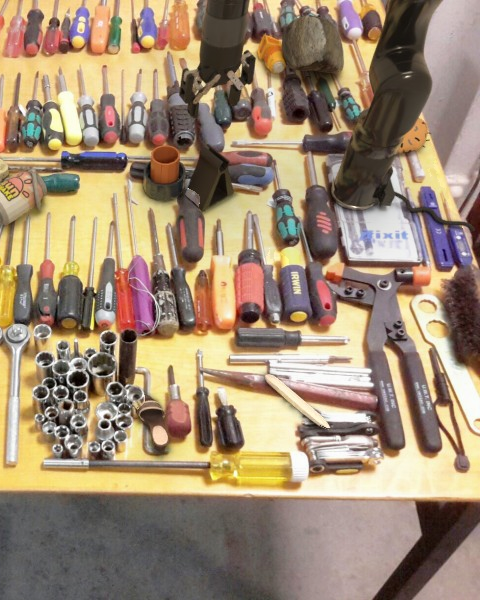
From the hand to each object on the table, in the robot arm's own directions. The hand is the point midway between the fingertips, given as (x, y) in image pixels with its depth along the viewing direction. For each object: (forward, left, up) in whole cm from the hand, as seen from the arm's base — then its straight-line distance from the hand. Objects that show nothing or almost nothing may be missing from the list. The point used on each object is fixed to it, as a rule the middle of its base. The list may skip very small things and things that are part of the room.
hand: (213, 109), depth 122 cm
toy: (-45, -15, -21) cm, 52 cm away
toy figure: (-20, -38, -18) cm, 46 cm away
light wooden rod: (-14, +52, -21) cm, 58 cm away
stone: (-24, -37, -11) cm, 45 cm away
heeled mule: (+10, +57, -21) cm, 62 cm away
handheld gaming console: (+47, 0, -20) cm, 51 cm away
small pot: (+9, 0, -20) cm, 22 cm away
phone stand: (-1, +2, -21) cm, 21 cm away
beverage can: (+45, +12, -17) cm, 49 cm away
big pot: (+9, 0, -21) cm, 23 cm away
